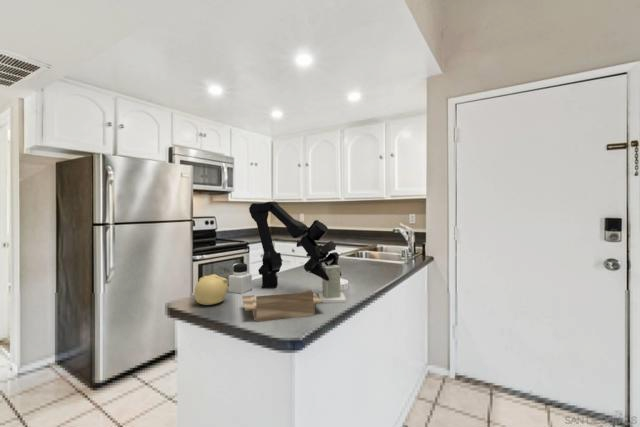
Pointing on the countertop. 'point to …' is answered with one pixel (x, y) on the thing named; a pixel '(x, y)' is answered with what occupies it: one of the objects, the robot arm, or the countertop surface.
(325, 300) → the pad
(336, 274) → the skincare box
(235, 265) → the medicine bottle
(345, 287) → the round white container
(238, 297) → the countertop surface
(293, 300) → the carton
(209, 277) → the yellow round lump
